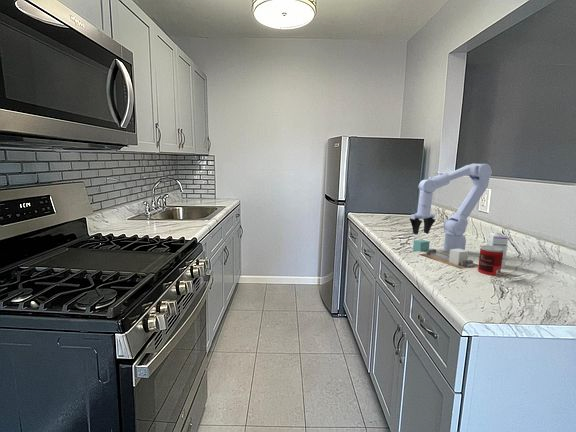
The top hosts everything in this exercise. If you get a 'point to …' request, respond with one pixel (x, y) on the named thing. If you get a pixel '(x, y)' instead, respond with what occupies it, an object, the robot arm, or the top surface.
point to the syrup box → (499, 243)
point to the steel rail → (433, 253)
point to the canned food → (490, 260)
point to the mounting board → (445, 261)
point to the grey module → (458, 256)
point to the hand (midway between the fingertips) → (420, 233)
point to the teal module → (420, 245)
